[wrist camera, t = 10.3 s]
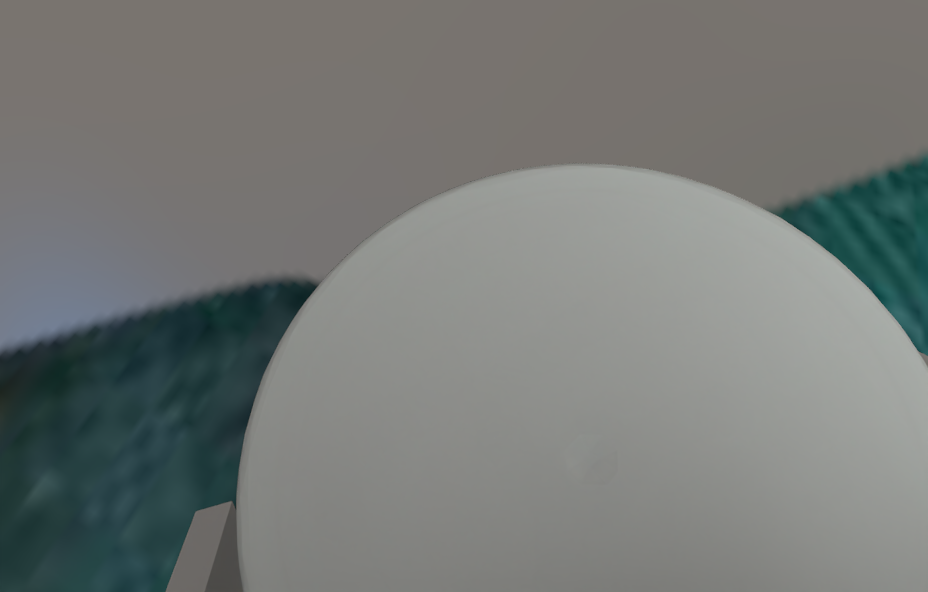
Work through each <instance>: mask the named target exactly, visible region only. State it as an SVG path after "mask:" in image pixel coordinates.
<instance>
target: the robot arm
mask: <svg viewBox="0 0 928 592" xmlns="http://www.w3.org/2000/svg"><path fill="white" fill-rule="evenodd" d="M919 354H920V355H921V357H922V358H923V360H924V362H925V363H926V365H927V367H928V356H927V355H925V354H923V353H921V352H919ZM166 592H243V587H242V581H241V574H240V568H239V559H238V548H237V519H236V509H235V507H234V504H233V502H232V501H230V502H227V503H223V504H220V505H216V506H213V507H210V508H206V509H203V510H199V511H196V512H195V515H194V518H193V520H192V523H191V526H190V528H189V531H188V534H187V536H186V539H185V541H184V544H183V547H182V549H181V552H180V555H179V557H178V560H177V563H176V565H175V568H174V571H173V573H172V576H171V578H170V581H169V584H168V586H167V589H166Z"/></svg>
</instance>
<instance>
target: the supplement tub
mask: <svg viewBox="0 0 928 592" xmlns="http://www.w3.org/2000/svg"><path fill="white" fill-rule="evenodd" d="M236 519H237V548H238V559H239V568H240V574H241V581H242V587H243V592H928V367H927V365H926V363H925V362H924V360H923V358H922V357H921V355H920V354H919V352H918V351H917V349H916V348H915V346H914V345H913V343H912V342H911V340H910V339H909V337H908V336H907V334H906V333H905V332H904V330H903V329H902V327H901V326H900V324H899V323H898V322H897V321H896V320H895V318H894V317H893V316H892V315H891V314H890V313H889V311H888V310H887V309H886V308H885V307H884V306H883V304H882V303H881V302H880V301H879V300H878V299H877V297H876V296H875V295H874V294H873V293H872V292H871V290H870V289H869V288H868V287H867V286H866V285H865V284H864V283H863V282H861V281H860V280H859V279H858V278H857V277H856V276H855V275H854V274H853V273H852V272H851V271H850V270H849V269H848V268H847V267H846V266H845V265H843V264H842V263H841V262H840V261H839V260H838V259H837V258H836V257H835V256H833V255H832V254H831V253H829V252H828V251H827V250H825V249H824V248H823V247H822V246H820V245H819V244H818V243H816V242H815V241H814V240H813V239H811V238H810V237H808V236H807V235H805V234H804V233H802V232H801V231H799V230H798V229H796V228H795V227H793V226H792V225H790V224H789V223H787V222H786V221H784V220H783V219H781V218H780V217H778V216H776V215H774V214H772V213H770V212H768V211H766V210H764V209H762V208H760V207H758V206H756V205H754V204H752V203H750V202H749V201H746V200H744V199H742V198H739V197H737V196H735V195H732V194H730V193H728V192H725V191H723V190H721V189H718V188H716V187H713V186H710V185H707V184H704V183H701V182H698V181H695V180H691V179H688V178H685V177H682V176H678V175H673V174H669V173H664V172H660V171H655V170H651V169H644V168H638V167H631V166H621V165H610V164H587V163H585V164H584V163H583V164H582V163H572V164H559V165H544V166H537V167H530V168H524V169H517V170H513V171H509V172H504V173H500V174H496V175H492V176H488V177H484V178H481V179H478V180H474V181H470V182H468V183H465V184H463V185H460V186H457V187H455V188H452V189H450V190H447V191H445V192H443V193H440V194H438V195H436V196H434V197H431V198H429V199H427V200H425V201H423V202H421V203H419V204H417V205H416V206H414V207H412V208H410V209H409V210H407V211H405V212H404V213H402V214H401V215H399V216H397V217H396V218H394V219H392V220H391V221H389V222H388V223H386V224H385V225H384V226H382V227H381V228H380V229H378V230H377V231H376V232H374V233H373V234H372V235H370V236H369V237H368V238H366V239H365V240H364V241H362V242H361V243H360V244H359V245H358V246H357V247H356V248H355V249H354V250H352V251H351V252H350V253H349V254H348V255H347V256H346V257H345V258H344V259H343V260H342V261H341V262H340V263H339V264H338V265H337V266H336V267H335V268H334V269H333V270H331V271H330V272H329V273H328V274H327V276H326V277H325V278H324V279H323V281H322V282H321V283H320V284H319V285H318V287H317V288H316V289H315V290H314V292H313V293H312V294H311V295H310V297H309V298H308V299H307V300H306V302H305V303H304V304H303V306H302V307H301V308H300V310H299V311H298V313H297V314H296V316H295V317H294V319H293V320H292V322H291V324H290V325H289V327H288V329H287V330H286V332H285V334H284V335H283V337H282V339H281V340H280V342H279V344H278V346H277V348H276V350H275V352H274V354H273V356H272V358H271V360H270V362H269V364H268V367H267V369H266V371H265V373H264V375H263V378H262V381H261V383H260V386H259V389H258V392H257V395H256V397H255V400H254V404H253V407H252V411H251V414H250V418H249V422H248V425H247V429H246V432H245V436H244V442H243V448H242V454H241V459H240V465H239V474H238V483H237V498H236Z"/></svg>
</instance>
